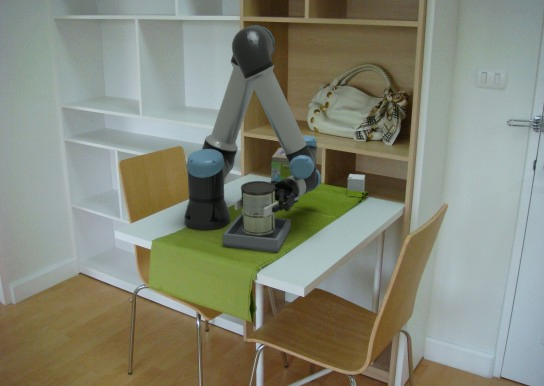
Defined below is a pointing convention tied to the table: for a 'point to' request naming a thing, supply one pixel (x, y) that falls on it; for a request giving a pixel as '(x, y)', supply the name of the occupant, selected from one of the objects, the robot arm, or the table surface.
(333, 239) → the table surface
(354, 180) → the skincare box
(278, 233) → the grey square tray
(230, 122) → the robot arm
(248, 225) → the coffee can
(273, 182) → the tea box
